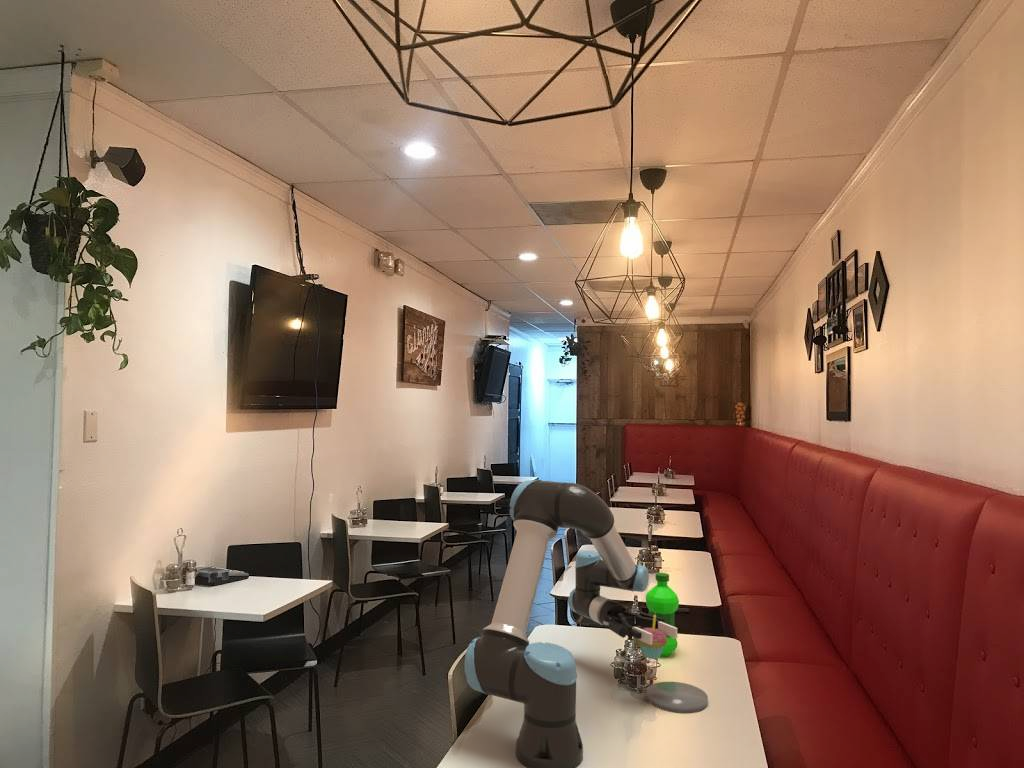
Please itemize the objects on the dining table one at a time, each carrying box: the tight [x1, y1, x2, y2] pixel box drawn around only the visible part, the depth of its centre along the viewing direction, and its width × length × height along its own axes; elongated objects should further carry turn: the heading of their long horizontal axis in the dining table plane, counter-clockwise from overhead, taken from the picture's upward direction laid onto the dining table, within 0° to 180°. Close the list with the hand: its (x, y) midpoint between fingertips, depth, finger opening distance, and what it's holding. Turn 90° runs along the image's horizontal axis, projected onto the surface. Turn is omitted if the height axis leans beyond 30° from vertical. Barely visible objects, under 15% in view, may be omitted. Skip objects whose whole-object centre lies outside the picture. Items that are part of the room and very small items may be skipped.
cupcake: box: [634, 613, 667, 659], centre depth 183 cm, size 9×8×12 cm
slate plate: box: [645, 681, 709, 714], centre depth 183 cm, size 16×16×2 cm
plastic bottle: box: [645, 572, 680, 658], centre depth 217 cm, size 10×10×25 cm
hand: (664, 636), depth 179 cm, fingers closed on cupcake, 8 cm apart
